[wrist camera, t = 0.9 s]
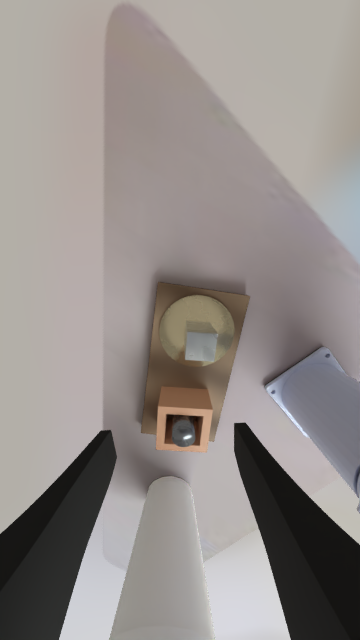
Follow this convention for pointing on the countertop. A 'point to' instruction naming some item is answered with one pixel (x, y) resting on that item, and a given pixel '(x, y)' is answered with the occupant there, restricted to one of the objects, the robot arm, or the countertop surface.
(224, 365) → the jig board
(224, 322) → the hub
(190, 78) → the countertop surface
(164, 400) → the collar
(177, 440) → the stand rod
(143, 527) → the foam cup
